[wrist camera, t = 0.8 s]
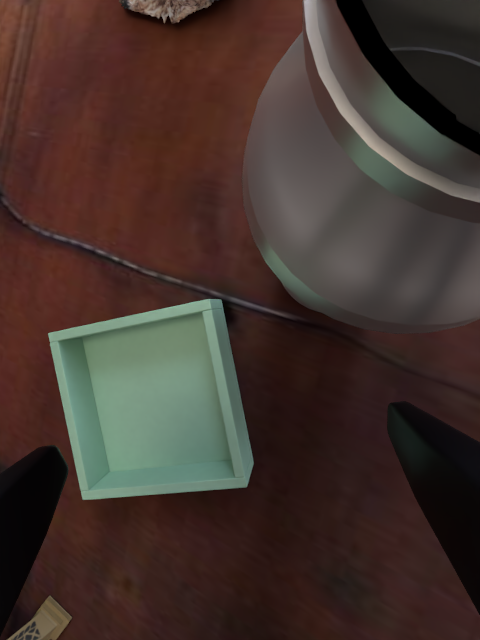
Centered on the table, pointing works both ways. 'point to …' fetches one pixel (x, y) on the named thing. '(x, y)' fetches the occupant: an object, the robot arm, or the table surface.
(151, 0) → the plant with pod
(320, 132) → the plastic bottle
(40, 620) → the eiffel tower
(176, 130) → the table surface
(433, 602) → the table surface
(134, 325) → the bin
